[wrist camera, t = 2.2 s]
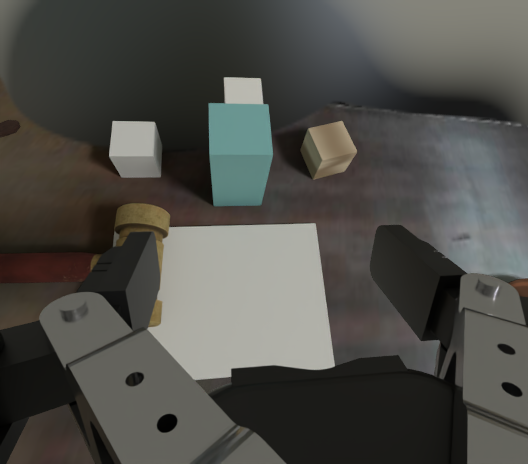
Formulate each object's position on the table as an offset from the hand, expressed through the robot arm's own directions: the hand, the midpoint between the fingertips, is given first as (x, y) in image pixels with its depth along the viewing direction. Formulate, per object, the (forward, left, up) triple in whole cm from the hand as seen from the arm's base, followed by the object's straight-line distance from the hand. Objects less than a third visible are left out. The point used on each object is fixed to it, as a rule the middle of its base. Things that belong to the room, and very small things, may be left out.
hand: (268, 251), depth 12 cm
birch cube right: (+10, +17, -20) cm, 28 cm away
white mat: (-2, +2, -20) cm, 20 cm away
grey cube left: (-10, +17, -20) cm, 28 cm away
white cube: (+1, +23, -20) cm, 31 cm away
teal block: (0, +14, -20) cm, 25 cm away
